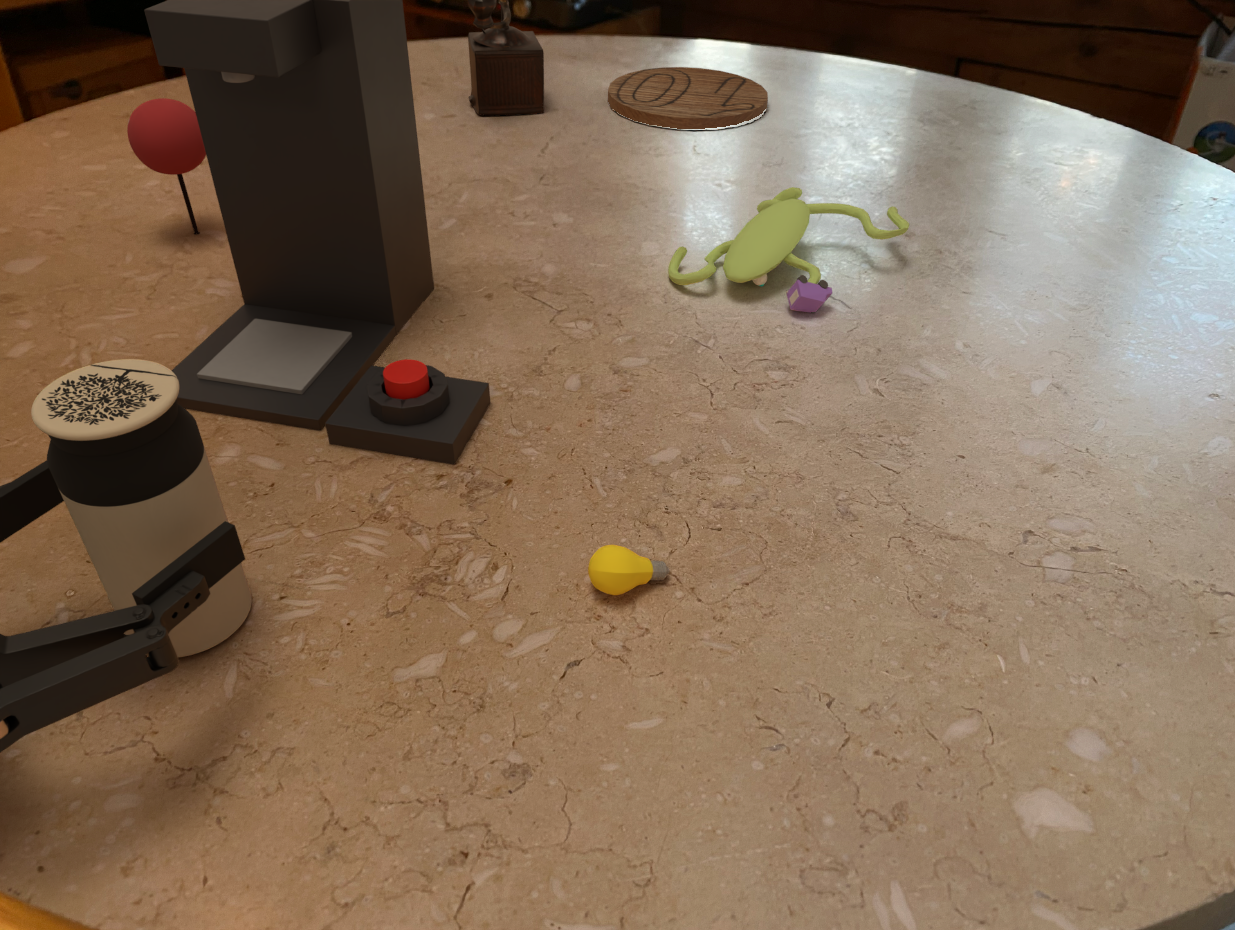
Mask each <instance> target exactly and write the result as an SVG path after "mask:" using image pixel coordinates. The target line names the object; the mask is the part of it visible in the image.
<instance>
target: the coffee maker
mask: <svg viewBox="0 0 1235 930" xmlns="http://www.w3.org/2000/svg"><path fill="white" fill-rule="evenodd" d="M144 14H145V18H146V22H147V25H148V30H149V33H150V36H151V40H152V44H153V47H154V51H155V55H156V59H157V62H158V66H161V67H171V68H178V69H179V68H181V69H183V70H184V72H185V78H186V81H187V85H188V88H189V93H190V96H191V100H192V104H193V110H194V111H195V113H196V116H197V120H198V124H199V128H200V132H201V136H202V140H203V144H204V148H205V152H206V156H205V157H206V160H207V163H208V168H209V171H210V175H211V179H212V183H213V187H214V190H215V191H214V192H215V194H216V199H217V202H218V207H219V211H220V214H221V218H222V222H223V226H224V230H225V234H226V238H227V241H228V246H229V249H230V253H231V254H230V255H231V258H232V261H233V264H234V270H235V273H236V277H237V281H238V285H239V290H240V293H241V297H242V300H243V304H242V305H241V306H240V307H239V308H238V309H237V310H236V311H235V312H234V313H233V314H232V315H230V316H229V317H228V318H227V319H226V320H225V321H224V322H223V323H222V324H221V325H220V326H219V327H217V328H216V329H215V330H214V331H213V332H212V333H211V334H210V335H208V336H207V337H206V338H205V339H204V340H202V342H201V343H200V344H198V346H196V347H195V348H194V349H193V350H192V351H191V352H190V353H189V354H188V355H187V356H185V358H183V359H182V360H181V361H180V362H179V363H178V364H177V365H176V366H175V367H173V368H172V369H170V370H171V371H172V372H173V373H174V374H175V375H176V377H177V379H178V381H179V393H178V396H177V403H178V404H179V405H181V406H182V407H183V408H184V409H185V410H190V411H196V412H202V413H208V414H213V415H214V414H215V415H221V416H227V417H233V418H239V419H246V420H252V421H257V422H258V421H259V422H264V423H269V424H270V423H271V424H276V425H283V426H289V427H293V428H295V427H296V428H301V429H307V430H314V431H319V432H320V431H322V430H323V429H324V427H326V425H325V423H326V422H327V420H328V419H329V418H330V417H331V415H332V414H333V413H334V412H335V410H336V409H337V408H338V406H339V405H340V404H341V403H342V401H343V400H344V399H345V398H346V396H347V395H348V394H349V393H350V391H351V390H352V389H353V388H354V386H355V385H356V384H357V383H358V381H359V380H360V379H361V378H362V376H363V375H364V374H365V373H366V371H367V370H368V369H369V368H370V366H371V365H372V366H375V365H374V364H375V363H376V362H377V361H378V360H379V358H380V357H381V356H382V355H383V353H384V352H385V351H386V350H387V348H388V347H389V346H390V344H391V343H393V340H394V339H396V337H397V336H398V334H399V333H400V332H401V331H402V329H403V328H404V327H405V325H407V323H408V322H409V321H410V319H411V318H412V317H413V315H414V314H415V313H416V312H417V310H418V309H419V308H420V307H421V306H422V304H423V303H424V302H425V300H426V299H428V297H429V296H430V294H431V293H432V292H433V291H434V289H435V284H434V283H435V282H434V276H433V265H432V257H431V247H430V240H429V229H428V219H427V210H426V202H425V193H424V184H423V183H424V182H423V176H422V175H423V174H422V165H421V158H420V157H421V156H420V148H419V147H420V145H419V138H418V129H417V120H416V112H415V102H414V94H413V93H414V92H413V83H412V75H411V65H410V56H409V49H408V48H409V47H408V38H407V30H406V20H405V12H404V1H403V0H165V1H162V2H160V3H157V4H154V5H152V6H150V7H147V8H145V9H144Z"/></svg>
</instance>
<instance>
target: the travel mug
mask: <svg viewBox="0 0 1235 930" xmlns="http://www.w3.org/2000/svg"><path fill="white" fill-rule="evenodd" d="M171 370H172V369H170V368H169V367H167V366H165V365H163V364H161V363H158V362H156V361H151V360H146V359H140V358H139V359H138V358H122V359H120V358H119V359H112V360H105V361H101V362H96V363H92V364H89V365H85V366H82V367H79V368H77V369H74V370H72V371H69V372H67V373H65V374H63V375H60V377H58V378H56V379H54V380H53V381H51V382H50V383H49V384H48V385H46V386H45V387H44V388H43V389H42V390H41V391H39V393H38V394H37V396H36V397H35V399H34V401H33V402H32V405H31V410H30V415H31V419H32V422H33V423H34V425H35V426H36V428H37V429H38V430H40V431H41V432H43V434H46V435H47V436H48V438H49V444H48V449H47V454H46V460H47V464H48V467H49V469H50V471H51V473H52V476H53V478H54V480H55V482H56V484H57V487H58V489H59V491H60V493H61V495H62V497H63V500H64V501H63V502H64V504H65V506H66V509H67V511H68V513H69V515H70V517H71V519H72V521H73V524H74V526H75V529H76V530H77V532H78V534H79V537H80V539H81V541H82V543H83V545H84V548H85V549H86V552H87V554H88V556H89V558H90V560H91V563H92V565H93V568H94V570H95V572H96V574H97V576H98V578H99V580H100V582H101V584H102V587H103V589H104V591H105V593H106V596H107V597H108V600H109V602H110V604H111V606H112V608H113V611H116V610H120V609H124V608H128V607H132V606H136V602H135V600H134V598H133V595H132V593H133V592H134V591H136V590H137V589H138V588H139V587H141V586H142V585H143V584H145V583H146V582H147V581H148V580H150V579H151V578H152V577H154V576H155V575H156V574H157V573H159V572H160V571H161V570H163V569H164V568H165V567H167V566H168V565H169V564H170V563H172V562H173V561H174V560H176V559H177V558H178V557H179V556H181V555H182V554H183V553H185V552H186V551H187V550H188V549H190V548H191V547H192V546H194V545H195V544H196V543H197V542H199V541H200V540H201V539H203V538H204V537H205V536H206V535H208V534H209V533H210V532H212V531H213V530H214V529H216V528H217V527H218V526H219V525H221V524H222V523H223V522H225V521H226V522H228V523H229V519H228V516H227V514H226V510H225V507H224V504H223V501H222V497H221V494H220V492H219V488H218V485H217V482H216V479H215V476H214V472H213V470H212V466H211V463H210V461H209V457H208V453H207V451H206V447H205V444H204V441H203V438H202V434H201V432H200V429H199V426H198V423H197V420H196V418H195V417H194V416H193V415H192V413H190V411H188V409H184V408H183V407H182V406H181V405H179V404H178V403H177V396H178V393H179V381H178V379H177V377H176V375H175V374H174V373H173V372H172V371H171ZM242 563H243V562H241V563H240V564H239V565H238V566H236V567H235V568H234V569H233V570H232V571H230V572H229V573H228V574H227V575H226V576H224V577H223V578H222V579H221V580H220V581H218V582H217V583H216V584H215V585H213V586H212V587H211V588H210V589H209V591H210V595H209V597H208V599H207V600H206V601H205V602H204V603H203V604H202V605H201V606H199V607H197V609H196V610H195V611H193V612H192V613H191V614H190V615H189V616H187V617H186V618H185V619H184V620H183V621H181V622H180V623H179V624H178V625H177V626H175V627H174V628H173V629H172V630H171V631H170V632H169V634H168V635H169V637H170V640H171V642H172V645H173V647H174V649H175V652H176V654H177V657H178V658H184V657H187V656H188V657H189V656H192V655H196V654H200V653H202V652H204V651H207V650H209V649H211V648H214V647H215V646H217V645H219V644H221V643H222V642H223V641H225V640H227V639H228V638H229V637H230V636H232V635H234V633H235V632H236V631H237V630H238V629H239V628H240V627H241V626H242V625H243V624H244V622H245V620H246V619H247V618H248V616H249V613H250V610H251V607H252V603H253V602H252V601H253V600H252V599H253V597H252V591H251V589H250V585H249V583H248V579H247V576H246V574H245V570H244V566H243V564H242ZM124 634H126V635H131V634H134V632H133V629H132V630H128V631H126V632H125V633H124Z"/></svg>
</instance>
